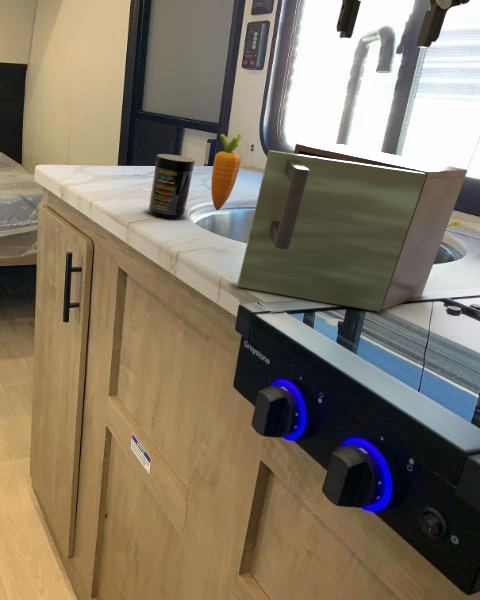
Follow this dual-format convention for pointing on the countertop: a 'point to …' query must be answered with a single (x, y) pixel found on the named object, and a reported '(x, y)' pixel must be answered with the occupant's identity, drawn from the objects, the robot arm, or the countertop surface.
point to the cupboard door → (328, 229)
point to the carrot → (225, 171)
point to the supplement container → (170, 186)
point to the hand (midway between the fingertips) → (383, 42)
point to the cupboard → (425, 221)
